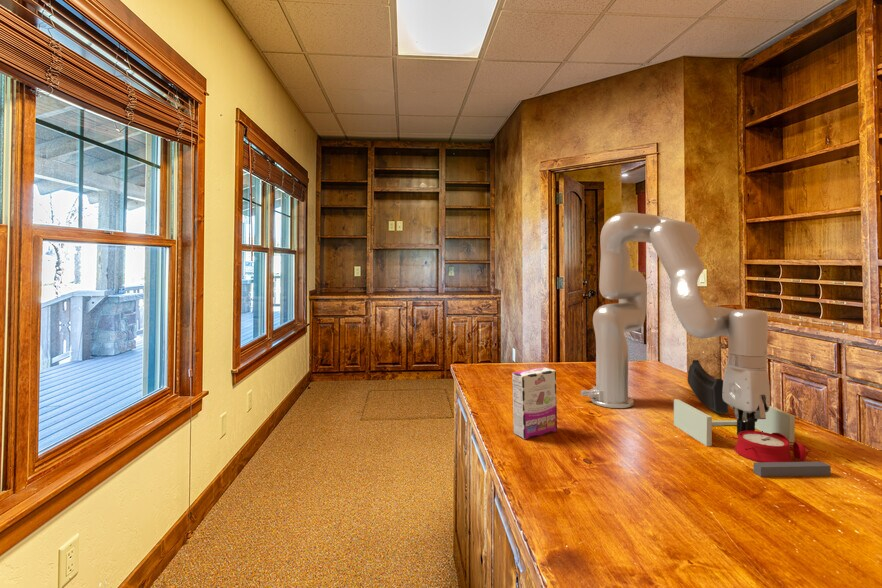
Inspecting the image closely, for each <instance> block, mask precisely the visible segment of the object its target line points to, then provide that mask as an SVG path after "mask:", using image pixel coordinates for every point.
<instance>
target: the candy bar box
mask: <svg viewBox="0 0 882 588" xmlns="http://www.w3.org/2000/svg"><path fill="white" fill-rule="evenodd" d="M511 379H512V380H511V383H512V384H511V385H512V390H511V391H512V419H513V421H512V425H513V428H512V429H513V435H515V436H516V437H519V438H521V439H523V440H527V439H529V440H530V439H533V438H537V437H540V436H544V435H547V434H552V433H556V432H557V431H558V417H557V416H558V413H557V412H558V410H557V409H558V408H557V370H555V369H552V368H549V367H538V368H532V369H525V370H520V371H515V372H514V371H513V372H511Z"/></svg>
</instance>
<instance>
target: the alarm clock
mask: <svg viewBox="0 0 882 588" xmlns="http://www.w3.org/2000/svg"><path fill="white" fill-rule="evenodd" d="M725 438H729V439H735V440H737V442H736V444H735V445H734V452H735V453H738V454H739V455H738V456H741V457H744V458H745V459H747V460H752V461H754V462H756V463H761V462H794V461H793V460H794V459H796V460H799V461H798V462H806V459H807V455H809V453H811V452H812V449H811V448H810V447H807V446H806V445H804V444H802V443H801V442H795V441H794V442H789V440H788V439H787V437H785V436H784V435H783V434H780V433H772V434H770V433H765V432H762V431H760V430H755V431H741V432H739V434H738V435H737V437H735V436H728V435H725ZM790 443H794V444H793V445H792V446H791V445H790ZM806 449H807V451H806ZM790 451H792V454H793V455H791V452H790Z"/></svg>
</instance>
